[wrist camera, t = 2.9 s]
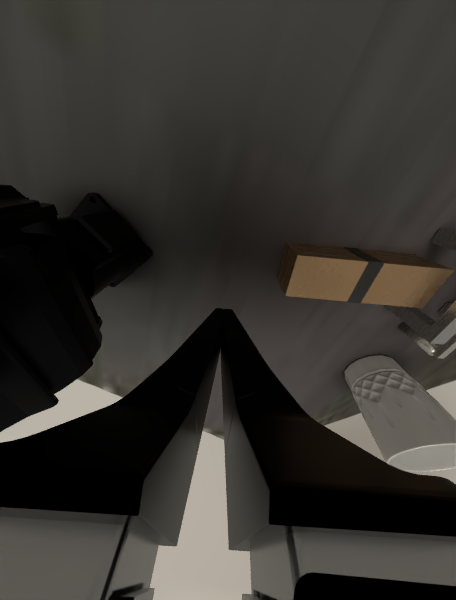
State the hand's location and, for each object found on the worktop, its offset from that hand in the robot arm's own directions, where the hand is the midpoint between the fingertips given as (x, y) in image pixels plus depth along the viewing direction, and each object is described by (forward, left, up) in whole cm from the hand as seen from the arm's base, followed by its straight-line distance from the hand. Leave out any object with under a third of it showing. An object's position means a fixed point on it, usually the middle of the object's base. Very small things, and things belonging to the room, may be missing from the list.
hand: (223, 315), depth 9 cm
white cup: (+7, -25, -10) cm, 28 cm away
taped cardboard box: (+9, -7, -9) cm, 15 cm away
